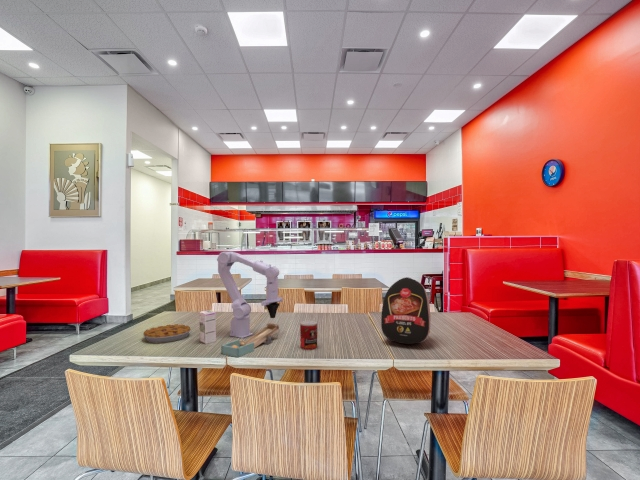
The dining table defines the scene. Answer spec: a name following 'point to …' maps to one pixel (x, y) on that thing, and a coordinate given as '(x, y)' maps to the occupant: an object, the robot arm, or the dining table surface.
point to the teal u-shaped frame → (236, 349)
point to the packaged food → (406, 312)
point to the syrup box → (207, 326)
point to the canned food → (308, 334)
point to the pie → (167, 333)
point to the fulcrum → (267, 340)
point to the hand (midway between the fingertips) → (272, 317)
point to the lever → (261, 335)
